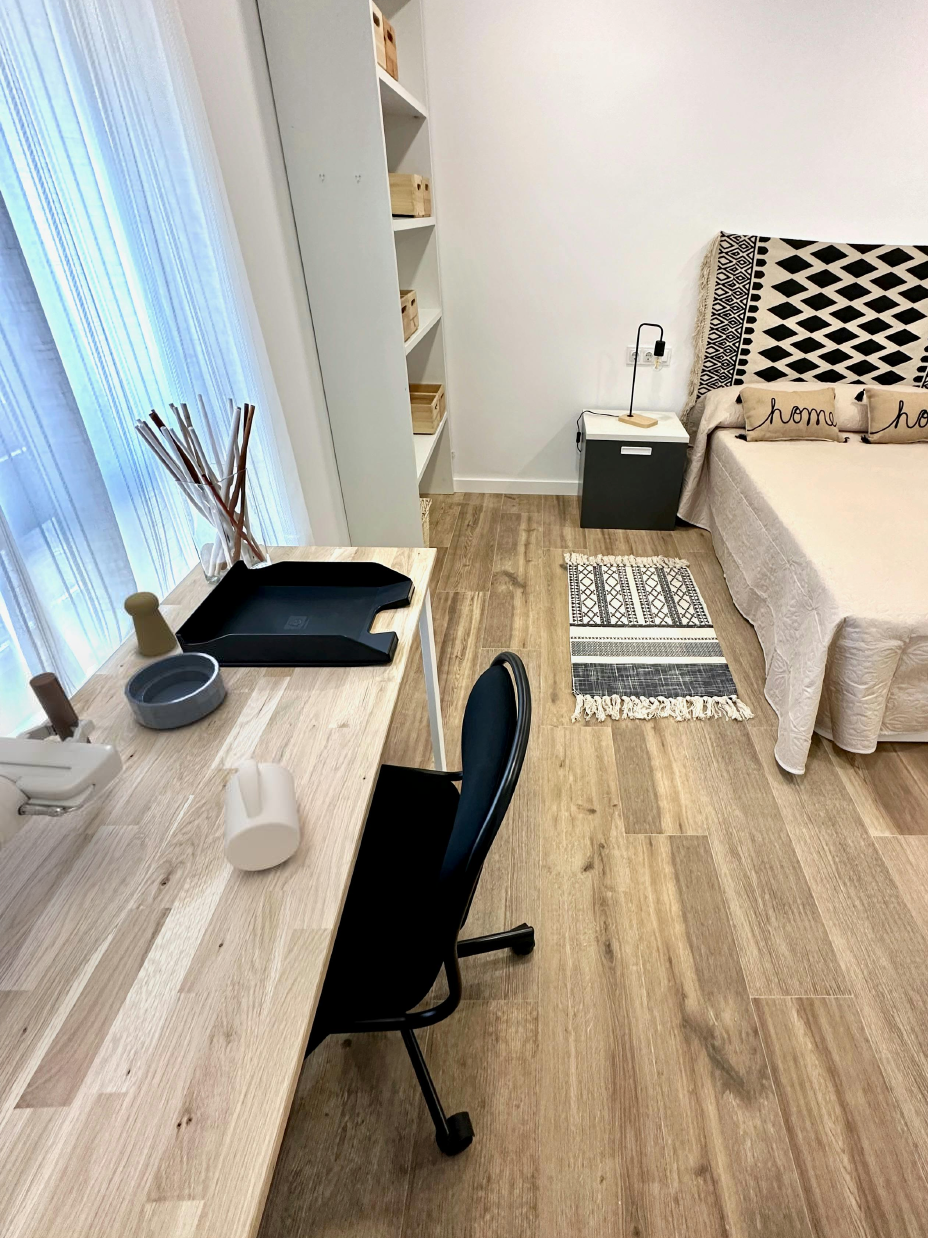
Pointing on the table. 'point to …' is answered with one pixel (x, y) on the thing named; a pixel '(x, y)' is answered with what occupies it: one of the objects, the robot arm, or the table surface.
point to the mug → (260, 816)
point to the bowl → (175, 690)
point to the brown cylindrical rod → (55, 704)
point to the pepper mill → (149, 624)
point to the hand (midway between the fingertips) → (73, 721)
